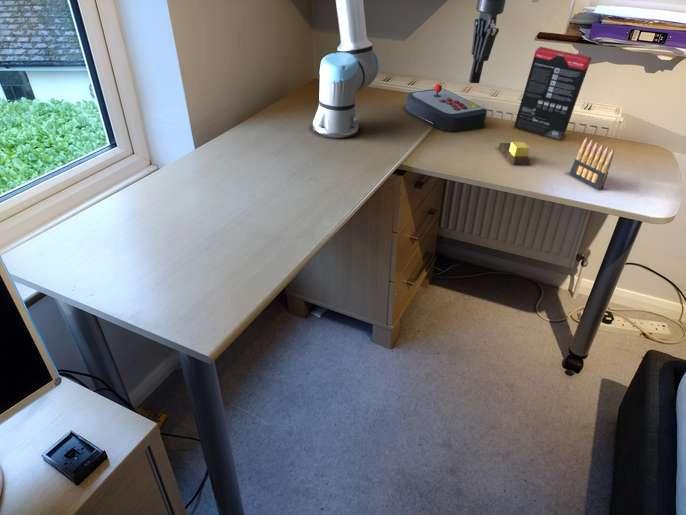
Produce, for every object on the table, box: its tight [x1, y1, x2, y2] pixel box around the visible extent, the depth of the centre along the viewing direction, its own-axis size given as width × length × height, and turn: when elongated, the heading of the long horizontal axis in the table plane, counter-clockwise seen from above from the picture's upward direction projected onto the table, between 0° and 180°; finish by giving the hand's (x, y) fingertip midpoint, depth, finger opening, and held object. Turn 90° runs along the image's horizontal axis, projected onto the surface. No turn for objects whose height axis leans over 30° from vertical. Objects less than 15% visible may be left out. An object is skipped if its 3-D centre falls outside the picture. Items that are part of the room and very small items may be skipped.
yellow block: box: [509, 141, 530, 157], centre depth 158 cm, size 4×4×3 cm
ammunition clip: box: [568, 137, 615, 190], centre depth 147 cm, size 11×2×12 cm, turn 30°
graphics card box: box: [513, 46, 592, 141], centre depth 172 cm, size 17×7×27 cm, turn 58°
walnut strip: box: [498, 142, 531, 166], centre depth 161 cm, size 12×5×2 cm, turn 8°
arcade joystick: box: [404, 83, 488, 132], centre depth 183 cm, size 28×19×10 cm
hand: (474, 82), depth 154 cm, fingers closed
